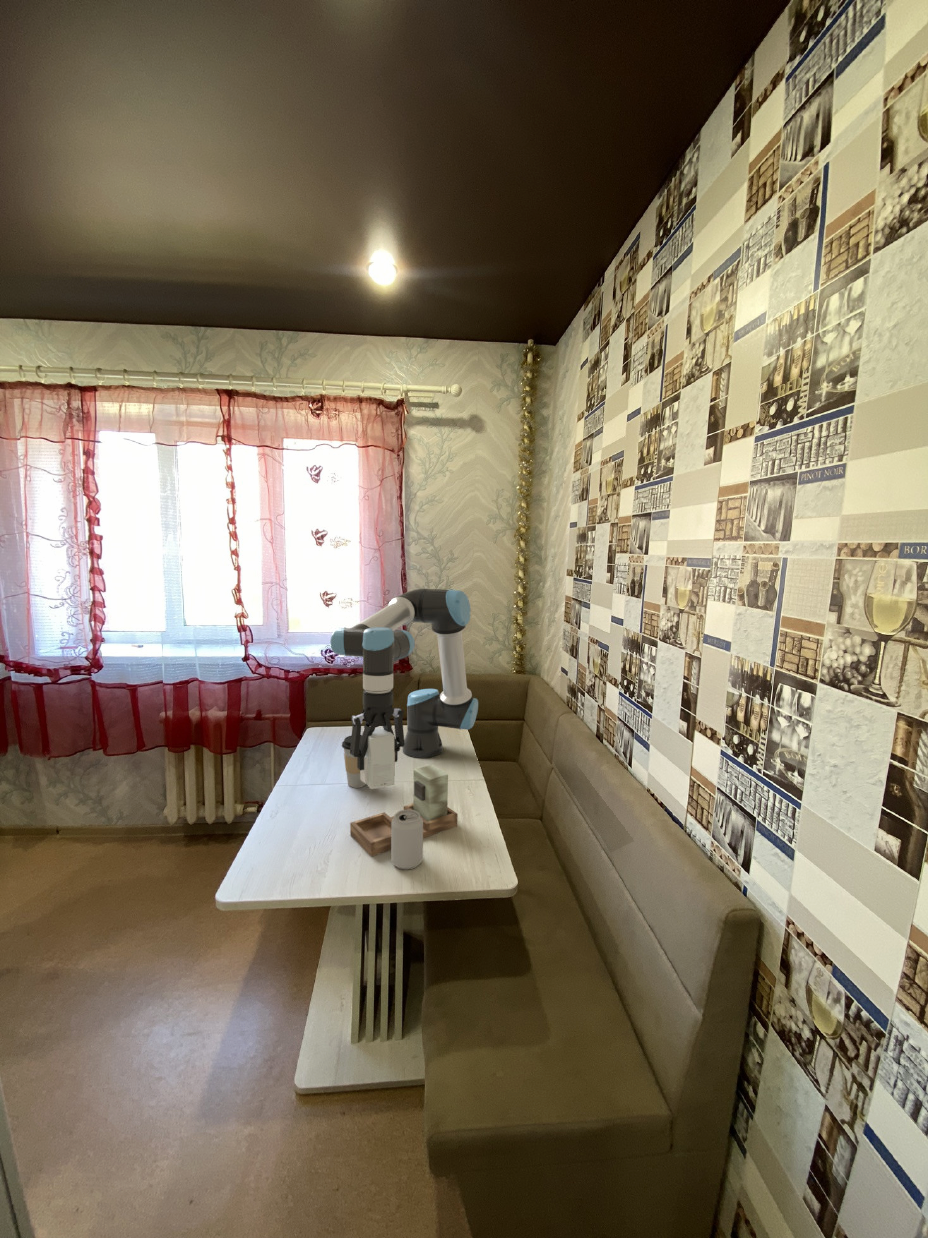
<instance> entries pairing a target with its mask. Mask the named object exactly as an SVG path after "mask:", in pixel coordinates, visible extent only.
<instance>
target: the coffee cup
mask: <svg viewBox="0 0 928 1238" xmlns="http://www.w3.org/2000/svg"><path fill="white" fill-rule="evenodd" d="M351 736H352V734H351V735H348V736H345V738H344V739H343V741H342V742H341V748H343V756H344V767H345V772H346V779H347V785H348V786H349V787H350V788H353V789H354V788H355V789H356V788H362V787H364V786H366V785H367V784H365V783H364V782H363V781H361V780H360V770H359V769H358V767H357V757H354V756H353V755H351V754H350V745H351ZM361 738H362V734H361V735H360V741H361Z"/></svg>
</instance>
